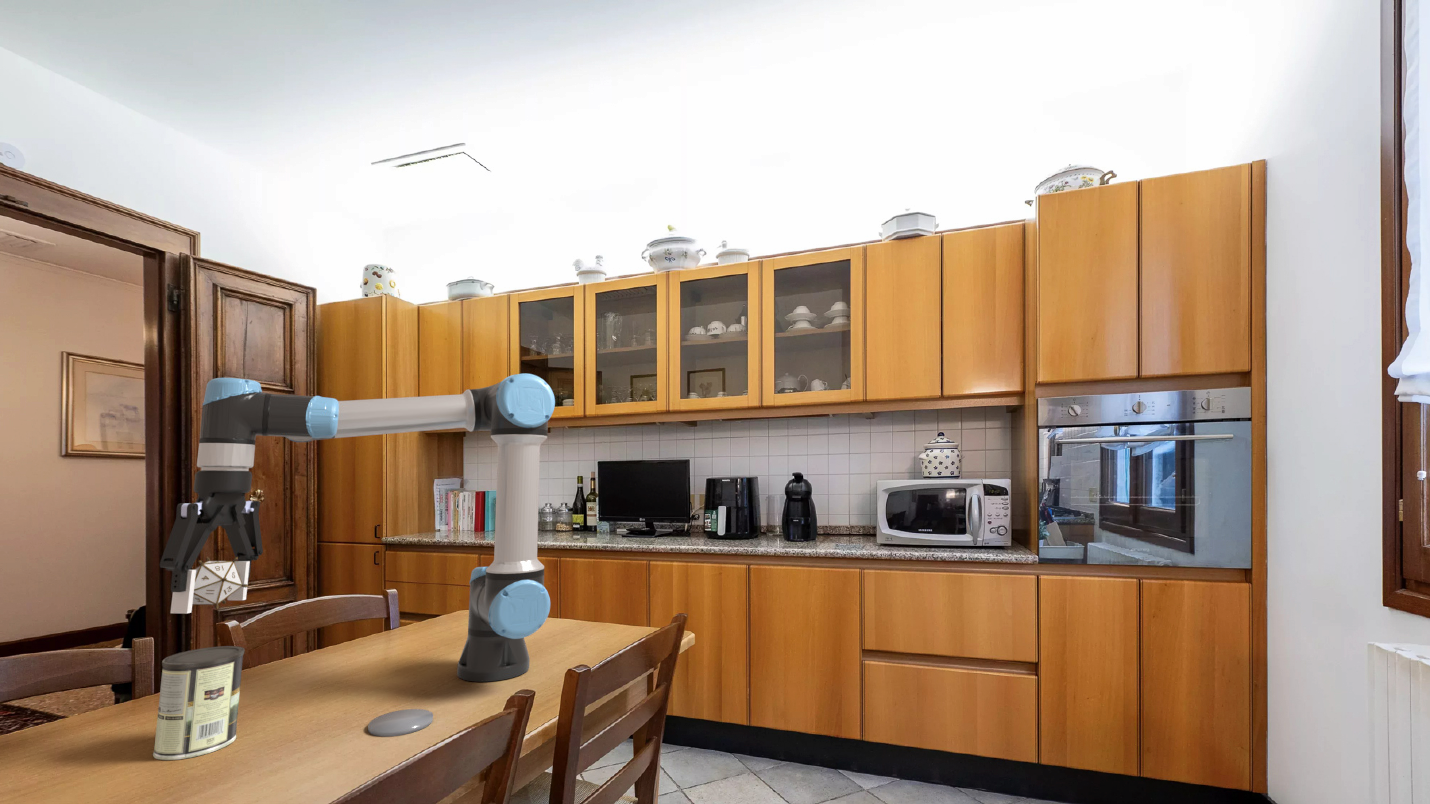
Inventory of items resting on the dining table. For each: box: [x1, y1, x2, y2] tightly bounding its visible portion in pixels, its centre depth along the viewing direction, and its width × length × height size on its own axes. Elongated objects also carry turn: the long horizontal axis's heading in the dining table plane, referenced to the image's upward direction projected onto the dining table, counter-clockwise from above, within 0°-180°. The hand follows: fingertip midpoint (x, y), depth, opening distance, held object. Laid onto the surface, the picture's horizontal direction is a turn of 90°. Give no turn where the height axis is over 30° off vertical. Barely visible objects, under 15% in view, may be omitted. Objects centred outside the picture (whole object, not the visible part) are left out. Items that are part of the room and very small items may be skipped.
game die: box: [192, 556, 249, 610], centre depth 100 cm, size 9×8×10 cm
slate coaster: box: [367, 708, 434, 737], centre depth 106 cm, size 10×10×1 cm
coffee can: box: [152, 645, 245, 761], centre depth 98 cm, size 10×10×14 cm
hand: (210, 606), depth 100 cm, fingers closed on game die, 10 cm apart
